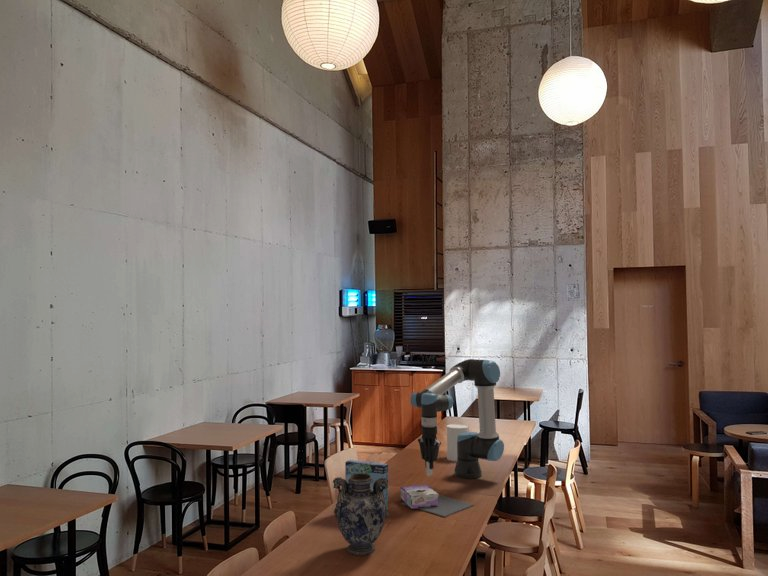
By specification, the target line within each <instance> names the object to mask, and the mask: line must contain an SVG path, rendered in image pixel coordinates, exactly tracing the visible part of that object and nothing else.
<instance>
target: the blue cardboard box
mask: <svg viewBox="0 0 768 576" xmlns="http://www.w3.org/2000/svg"><path fill="white" fill-rule="evenodd" d="M344 466H345V469H344V470H345V474H344V475H345V476H344V478H345V480H346V481H347V482H348V480H349V478H351V476H352V475H354V474H368V475H370V476H371V478H373V480H374V481H373V483H371V484H370V487H371V488H370V490H371V491H373V484H374V482H375V481H376V480H378V479H379V478H383V477H384V478H387V480H388V481H389V463H381V462H375V461H374V462H371V461H366V460H365V461H364V460H354V459H348V460H346V461H345V465H344ZM348 486H349V488H348V491H351V490H352V489H351V487H352V485H351V484H350V483H349V482H348ZM380 488H381V489H382V487H381V486H380ZM383 492H384V495H385V503H386V507H387V508H388V507H389V506H388V505H389V487H388V488H386V489H383ZM388 509H389V508H388ZM388 515H389V512H388V513H387V516H386V518H387V517H388Z"/></svg>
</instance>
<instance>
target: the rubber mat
mask: <svg viewBox="0 0 768 576" xmlns="http://www.w3.org/2000/svg"><path fill="white" fill-rule="evenodd" d="M401 505H403V506H406V505H407V504H406V503H405V502H404V501H403V502H401ZM471 506H472V507H475V504H474V503H470V502H467V501H463V500H460V499H456V498H452V497H450V496H447V495H446V496H445V495H441V494H439V506H431V507H422V508H415V509H416V510H419V509H420V511H422V510H423V511H422V512H425V513H428V514H432V513H433V514H432V515H435V514H436V516H438V515H439V516H438V517H441V516H442V518H447V517H449V515H450V516H451V514H452V515H454V513H455V514H457V513H459V511H460V512H462V511H465V510H467V509H470V508H471ZM406 507H409V506H408V505H407V506H406ZM469 507H470V508H469ZM464 509H465V510H464ZM461 510H462V511H461ZM456 512H457V513H456Z"/></svg>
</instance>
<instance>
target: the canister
mask: <svg viewBox="0 0 768 576" xmlns="http://www.w3.org/2000/svg"><path fill="white" fill-rule="evenodd" d="M469 427H470V426H469V425H468V424H463V423H451V424H448V425H446V460H447V461H450V460H451V462H457V437H458V435H459V434H461V433H467V432H470V428H469Z"/></svg>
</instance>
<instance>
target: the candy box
mask: <svg viewBox="0 0 768 576" xmlns="http://www.w3.org/2000/svg"><path fill="white" fill-rule="evenodd" d="M439 495H440V494H439V493H438V492H437V491H436V490H435V489H433V488H431V486H429V485H428V484H417V485H416V484H415V485H407V486H400V499H401V500H402V501H403V502H405V503H406V504H407V505H408V506H407V507H409V508H410V509H413V510H414V509H416V508H422V507H431V506H439Z"/></svg>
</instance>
